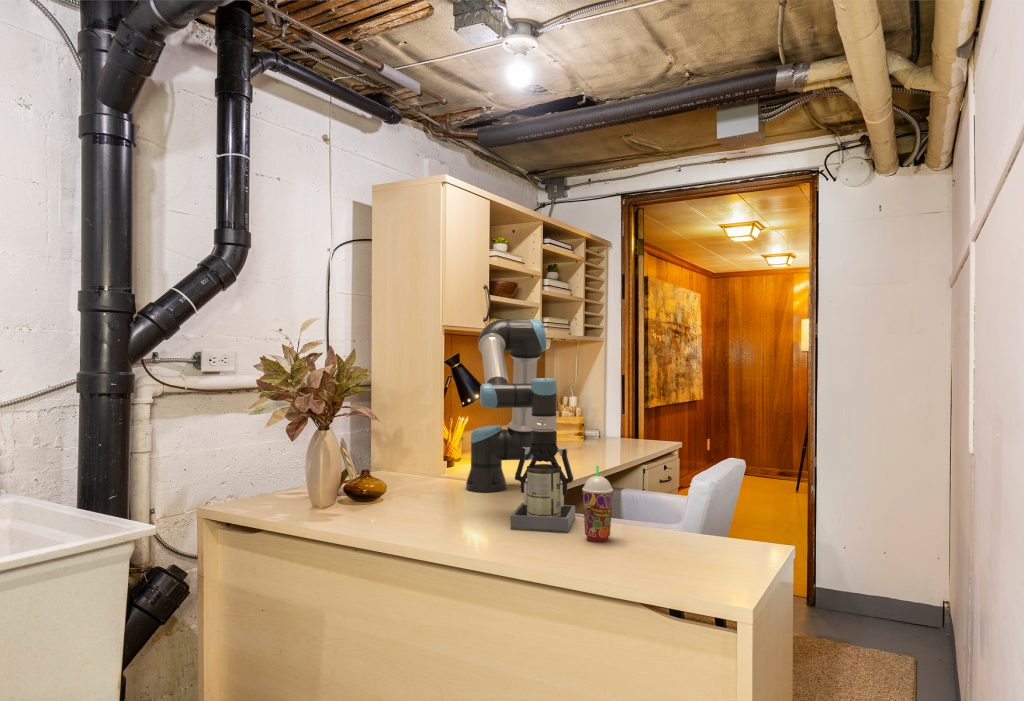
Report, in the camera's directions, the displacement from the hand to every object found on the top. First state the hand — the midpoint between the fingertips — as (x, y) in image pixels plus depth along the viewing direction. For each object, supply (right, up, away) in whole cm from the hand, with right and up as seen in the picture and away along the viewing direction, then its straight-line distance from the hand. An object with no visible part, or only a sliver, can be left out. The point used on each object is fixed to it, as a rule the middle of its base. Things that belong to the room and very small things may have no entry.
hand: (543, 504), depth 195 cm
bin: (0, -6, 0) cm, 6 cm away
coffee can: (0, -3, 0) cm, 3 cm away
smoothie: (+14, -6, -16) cm, 22 cm away
